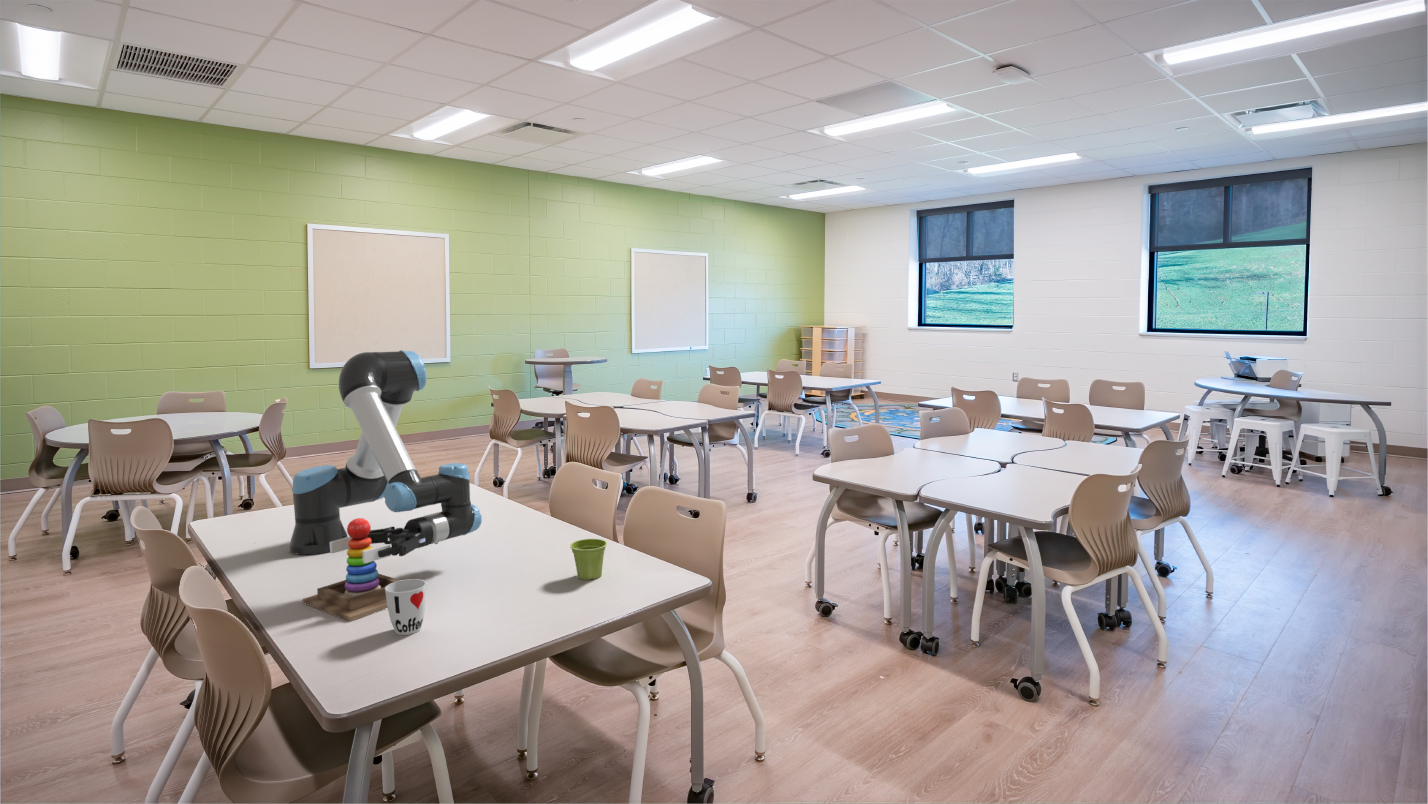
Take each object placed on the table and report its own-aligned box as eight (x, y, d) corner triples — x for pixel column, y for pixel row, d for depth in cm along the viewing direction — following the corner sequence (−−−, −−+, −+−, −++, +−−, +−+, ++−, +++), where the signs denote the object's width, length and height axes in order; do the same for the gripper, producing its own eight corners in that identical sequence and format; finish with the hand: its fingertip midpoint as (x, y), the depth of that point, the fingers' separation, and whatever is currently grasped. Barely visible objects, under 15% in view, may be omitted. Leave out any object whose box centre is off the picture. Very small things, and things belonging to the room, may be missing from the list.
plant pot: (596, 584, 186) (595, 551, 185) (564, 580, 190) (563, 547, 189) (614, 572, 195) (613, 540, 194) (582, 568, 198) (581, 537, 197)
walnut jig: (303, 602, 175) (301, 588, 175) (373, 580, 190) (372, 567, 190) (350, 621, 164) (349, 606, 164) (421, 595, 179) (421, 581, 179)
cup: (389, 641, 154) (386, 594, 153) (386, 627, 161) (383, 582, 160) (430, 633, 158) (428, 588, 157) (425, 619, 165) (423, 576, 164)
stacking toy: (388, 591, 180) (384, 516, 178) (363, 603, 172) (359, 524, 170) (362, 587, 182) (358, 513, 180) (336, 599, 175) (332, 521, 173)
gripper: (457, 552, 184) (379, 577, 167) (397, 537, 198) (318, 558, 180) (456, 523, 184) (377, 545, 166) (396, 509, 197) (316, 528, 180)
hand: (346, 552), depth 173 cm, fingers open, 13 cm apart
